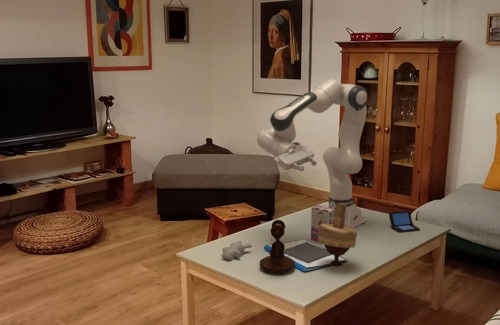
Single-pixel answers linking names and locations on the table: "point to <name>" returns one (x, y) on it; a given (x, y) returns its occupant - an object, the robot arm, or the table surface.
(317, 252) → the mat
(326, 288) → the table surface
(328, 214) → the candy bar box
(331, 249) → the ice cream bowl
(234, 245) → the bunny figurine
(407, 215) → the handheld game console
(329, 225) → the oak lid
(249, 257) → the table surface
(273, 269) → the turned wooden statuette
